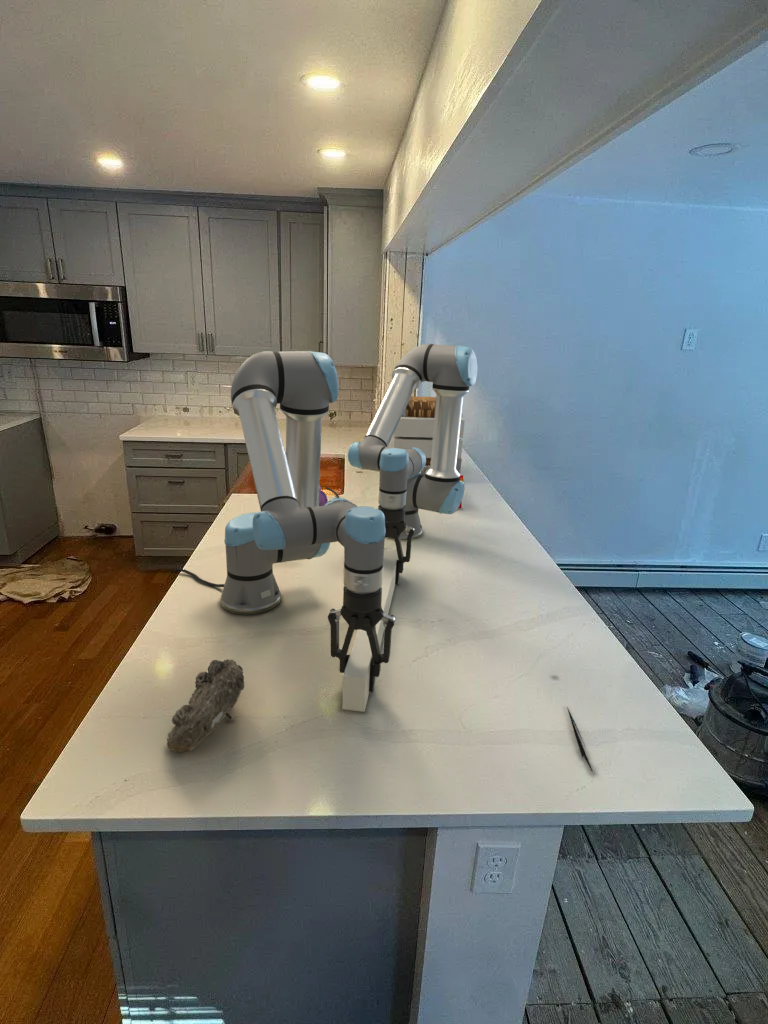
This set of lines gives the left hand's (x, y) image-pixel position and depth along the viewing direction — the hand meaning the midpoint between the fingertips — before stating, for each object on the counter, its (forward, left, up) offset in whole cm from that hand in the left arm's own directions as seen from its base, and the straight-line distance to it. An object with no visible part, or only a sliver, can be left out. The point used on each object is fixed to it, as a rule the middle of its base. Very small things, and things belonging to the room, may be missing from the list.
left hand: (359, 686), depth 118 cm
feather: (+33, +27, -1) cm, 43 cm away
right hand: (-33, +36, 0) cm, 49 cm away
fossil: (-10, -27, -1) cm, 29 cm away
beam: (-16, +18, -1) cm, 24 cm away
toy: (-78, +108, -1) cm, 133 cm away
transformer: (-112, +126, -1) cm, 168 cm away
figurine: (-95, +54, -1) cm, 109 cm away
